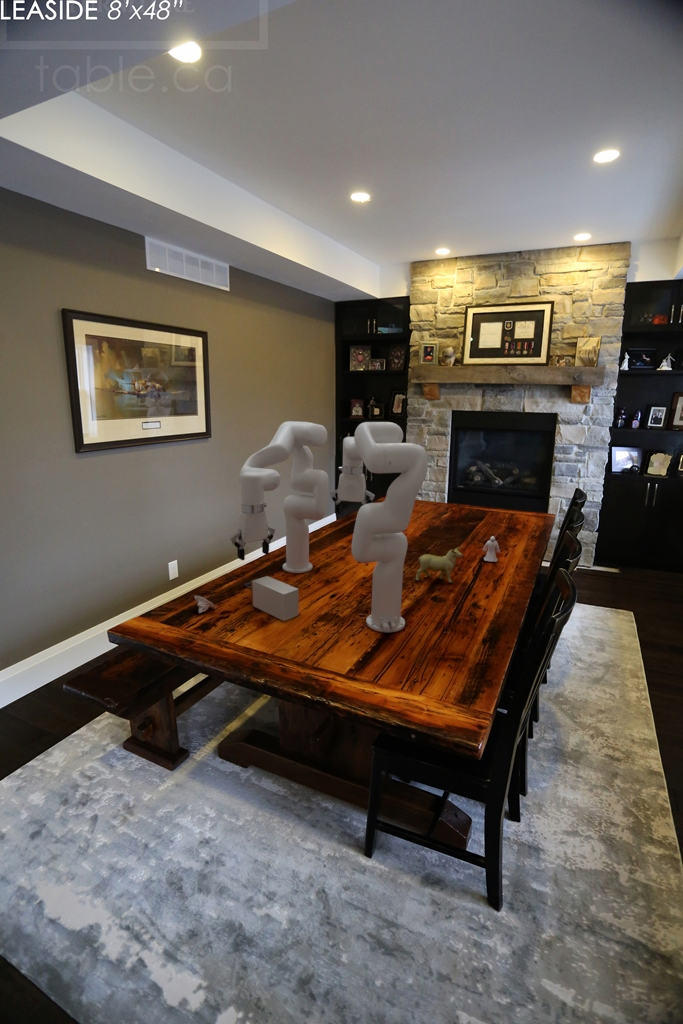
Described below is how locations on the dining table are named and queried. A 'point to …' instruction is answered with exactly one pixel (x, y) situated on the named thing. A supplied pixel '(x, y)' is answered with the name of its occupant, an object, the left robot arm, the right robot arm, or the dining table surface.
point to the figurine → (491, 550)
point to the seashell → (203, 604)
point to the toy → (439, 563)
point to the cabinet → (275, 598)
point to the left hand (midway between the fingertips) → (253, 556)
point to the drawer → (249, 588)
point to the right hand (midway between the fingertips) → (351, 515)
